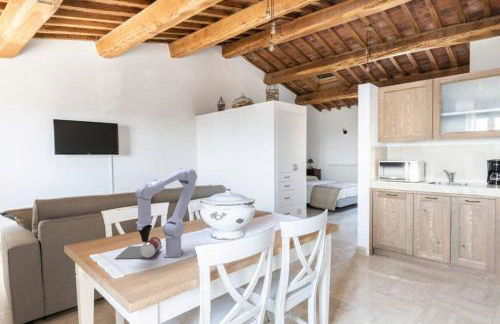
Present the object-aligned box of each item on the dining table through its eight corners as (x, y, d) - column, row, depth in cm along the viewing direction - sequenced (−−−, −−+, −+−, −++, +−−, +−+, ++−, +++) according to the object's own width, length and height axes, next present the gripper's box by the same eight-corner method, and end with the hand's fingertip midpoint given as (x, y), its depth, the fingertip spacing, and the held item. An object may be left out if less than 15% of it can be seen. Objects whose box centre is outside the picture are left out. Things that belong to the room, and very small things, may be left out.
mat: (128, 247, 160) (128, 246, 160) (162, 246, 160) (162, 245, 160) (114, 259, 142) (114, 258, 142) (152, 258, 142) (152, 257, 142)
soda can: (155, 258, 141) (161, 249, 153) (154, 243, 141) (161, 236, 153) (140, 258, 141) (147, 250, 153) (139, 243, 141) (147, 236, 153)
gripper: (141, 209, 142) (141, 237, 142) (129, 215, 127) (130, 246, 128) (155, 209, 142) (156, 236, 143) (146, 215, 128) (146, 246, 128)
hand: (145, 241), depth 135 cm, fingers closed
